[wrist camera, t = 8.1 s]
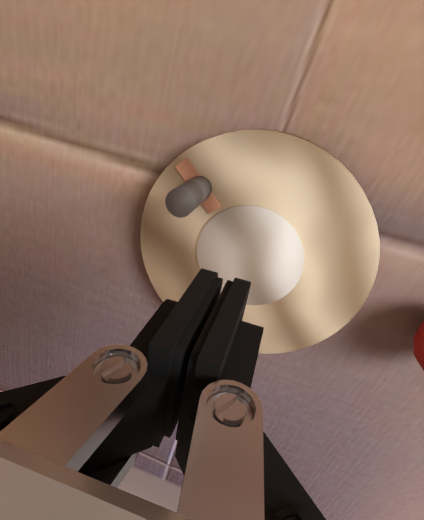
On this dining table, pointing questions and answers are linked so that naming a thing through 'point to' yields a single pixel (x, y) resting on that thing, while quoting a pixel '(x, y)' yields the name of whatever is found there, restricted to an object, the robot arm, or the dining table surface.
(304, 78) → the dining table surface
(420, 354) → the onion
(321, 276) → the turntable
